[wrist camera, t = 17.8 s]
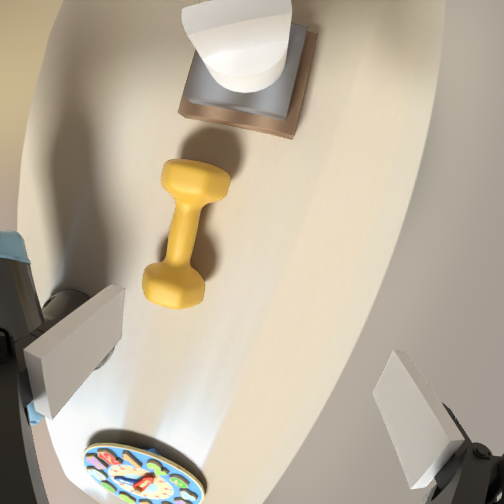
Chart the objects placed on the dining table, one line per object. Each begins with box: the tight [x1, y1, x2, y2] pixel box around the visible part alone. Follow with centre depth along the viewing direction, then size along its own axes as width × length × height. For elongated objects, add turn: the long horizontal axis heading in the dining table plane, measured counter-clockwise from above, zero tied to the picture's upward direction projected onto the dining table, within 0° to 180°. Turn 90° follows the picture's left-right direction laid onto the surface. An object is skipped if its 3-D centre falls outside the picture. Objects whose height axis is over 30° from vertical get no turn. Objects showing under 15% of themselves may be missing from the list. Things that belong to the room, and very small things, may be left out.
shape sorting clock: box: [82, 443, 205, 504], centre depth 56 cm, size 31×30×6 cm
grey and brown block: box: [178, 23, 318, 139], centre depth 35 cm, size 15×15×8 cm
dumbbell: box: [142, 159, 231, 309], centre depth 40 cm, size 19×9×8 cm, turn 165°
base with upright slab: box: [181, 0, 292, 93], centre depth 25 cm, size 9×9×12 cm
